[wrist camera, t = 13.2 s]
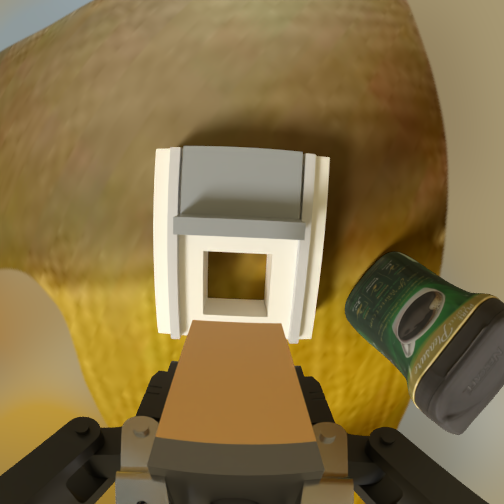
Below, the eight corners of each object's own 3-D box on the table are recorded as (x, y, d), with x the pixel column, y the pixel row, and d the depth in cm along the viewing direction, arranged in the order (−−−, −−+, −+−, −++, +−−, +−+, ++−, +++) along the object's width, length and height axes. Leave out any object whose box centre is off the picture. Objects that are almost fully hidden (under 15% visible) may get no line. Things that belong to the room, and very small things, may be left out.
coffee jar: (374, 342, 30) (459, 452, 12) (331, 307, 29) (420, 434, 11) (426, 280, 29) (542, 351, 11) (389, 237, 28) (530, 296, 9)
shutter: (295, 233, 23) (304, 240, 20) (182, 228, 22) (173, 234, 19) (300, 153, 21) (310, 147, 18) (185, 147, 21) (176, 140, 18)
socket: (302, 320, 29) (313, 342, 24) (167, 314, 28) (156, 336, 24) (316, 161, 26) (332, 156, 21) (168, 154, 25) (153, 147, 20)
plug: (273, 390, 14) (300, 552, 5) (195, 387, 13) (168, 550, 4) (281, 323, 13) (335, 509, 4) (192, 319, 12) (136, 505, 3)
